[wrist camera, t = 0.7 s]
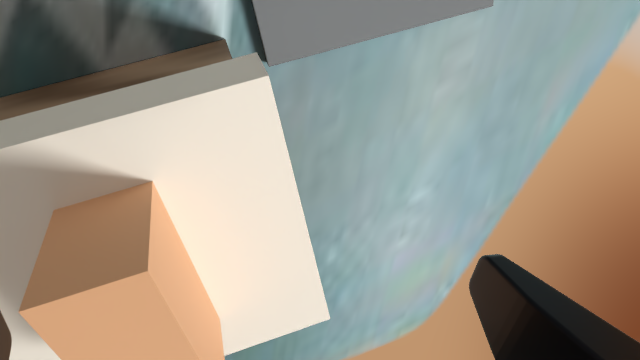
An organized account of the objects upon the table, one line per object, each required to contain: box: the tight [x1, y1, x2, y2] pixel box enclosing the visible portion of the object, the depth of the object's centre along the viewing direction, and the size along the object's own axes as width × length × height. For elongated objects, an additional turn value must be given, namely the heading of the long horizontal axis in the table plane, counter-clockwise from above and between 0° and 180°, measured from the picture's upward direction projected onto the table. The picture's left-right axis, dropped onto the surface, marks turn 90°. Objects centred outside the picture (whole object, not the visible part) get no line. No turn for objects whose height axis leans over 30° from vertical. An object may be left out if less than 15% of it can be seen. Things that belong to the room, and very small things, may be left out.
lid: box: [0, 52, 330, 360], centre depth 15 cm, size 12×12×6 cm
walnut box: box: [0, 39, 232, 121], centre depth 19 cm, size 10×10×6 cm
